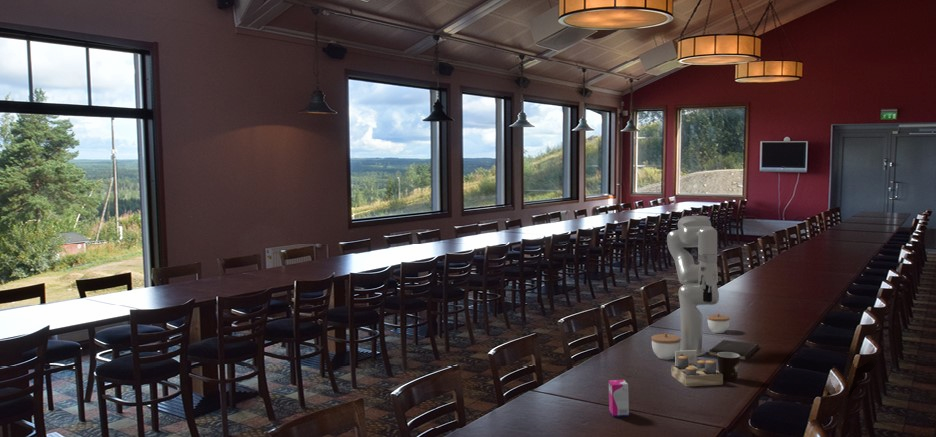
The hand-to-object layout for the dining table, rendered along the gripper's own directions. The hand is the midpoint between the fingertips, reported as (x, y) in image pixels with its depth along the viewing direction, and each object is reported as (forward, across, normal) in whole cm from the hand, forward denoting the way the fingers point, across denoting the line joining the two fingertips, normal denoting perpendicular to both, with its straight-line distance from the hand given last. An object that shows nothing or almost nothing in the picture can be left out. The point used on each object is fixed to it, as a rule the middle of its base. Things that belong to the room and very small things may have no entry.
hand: (707, 301), depth 289 cm
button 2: (+28, -21, -1) cm, 35 cm away
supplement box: (+29, -68, +6) cm, 74 cm away
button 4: (+26, -16, -7) cm, 31 cm away
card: (+29, -8, +6) cm, 31 cm away
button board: (+29, -16, -1) cm, 33 cm away
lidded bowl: (+29, +8, +22) cm, 37 cm away
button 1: (+26, -16, +4) cm, 30 cm away
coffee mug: (+29, -7, -12) cm, 32 cm away
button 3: (+28, -10, -1) cm, 30 cm away
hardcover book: (+30, +35, +1) cm, 46 cm away
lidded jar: (+29, +66, +20) cm, 75 cm away
